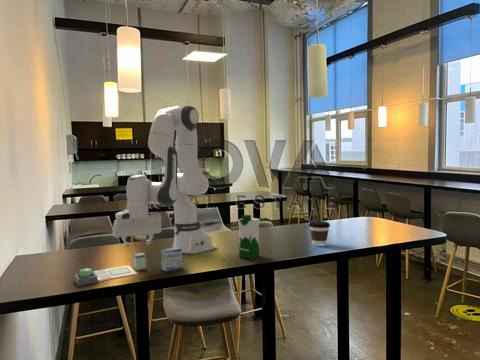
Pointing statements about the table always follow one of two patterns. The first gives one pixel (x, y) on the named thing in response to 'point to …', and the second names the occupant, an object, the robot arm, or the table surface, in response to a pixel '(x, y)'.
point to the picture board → (115, 273)
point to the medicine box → (171, 259)
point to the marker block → (139, 261)
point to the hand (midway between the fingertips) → (138, 245)
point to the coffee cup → (319, 232)
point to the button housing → (86, 279)
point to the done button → (85, 272)
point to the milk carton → (248, 237)
